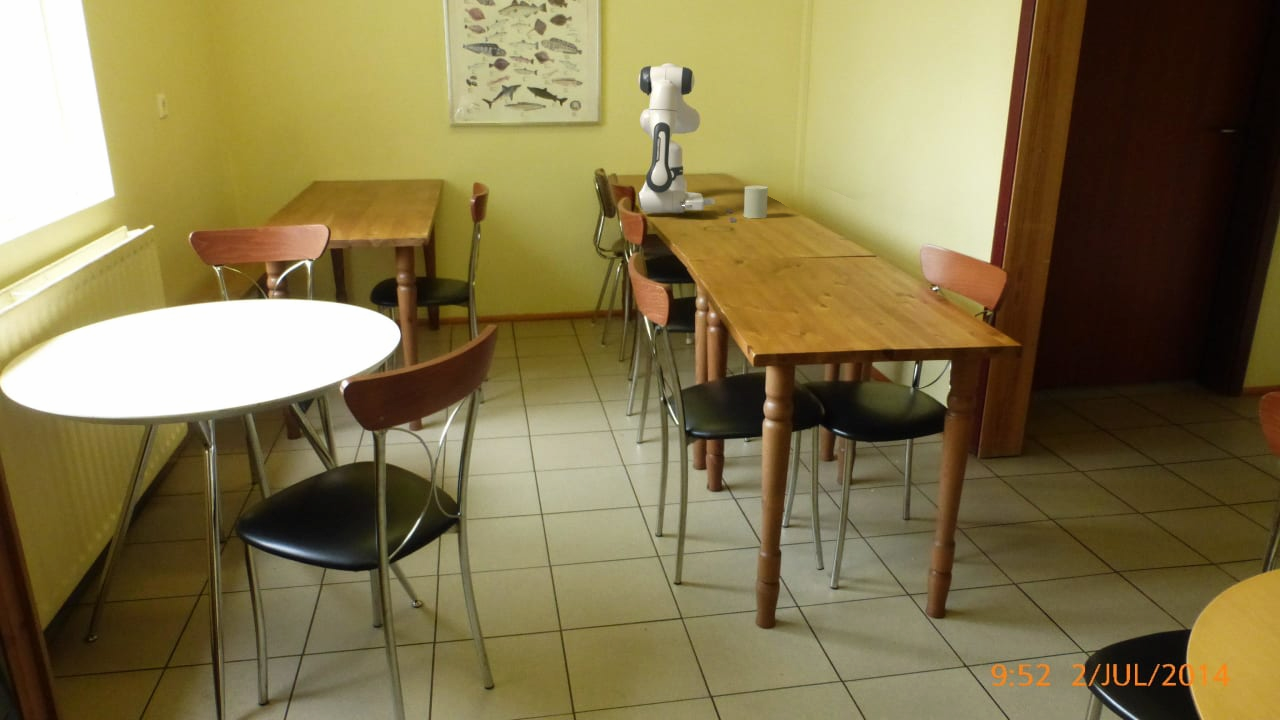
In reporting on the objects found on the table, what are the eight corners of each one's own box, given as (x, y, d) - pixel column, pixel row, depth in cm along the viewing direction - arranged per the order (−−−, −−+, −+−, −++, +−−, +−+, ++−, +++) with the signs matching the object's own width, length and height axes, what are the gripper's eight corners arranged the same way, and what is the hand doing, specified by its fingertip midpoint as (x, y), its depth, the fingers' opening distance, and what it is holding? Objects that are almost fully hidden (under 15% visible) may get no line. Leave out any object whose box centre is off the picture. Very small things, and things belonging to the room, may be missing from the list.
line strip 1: (726, 209, 383) (726, 208, 383) (730, 209, 383) (730, 208, 383) (727, 212, 376) (727, 212, 376) (731, 212, 376) (731, 212, 376)
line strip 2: (729, 218, 364) (729, 217, 363) (734, 218, 363) (734, 217, 363) (731, 222, 356) (731, 221, 356) (735, 222, 356) (735, 221, 356)
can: (743, 218, 364) (744, 187, 360) (743, 214, 372) (744, 184, 369) (767, 219, 363) (768, 187, 359) (766, 214, 371) (767, 184, 368)
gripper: (680, 197, 357) (716, 197, 357) (678, 189, 377) (713, 189, 377) (680, 214, 359) (716, 214, 359) (678, 205, 379) (712, 205, 379)
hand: (714, 201), depth 368 cm, fingers closed
